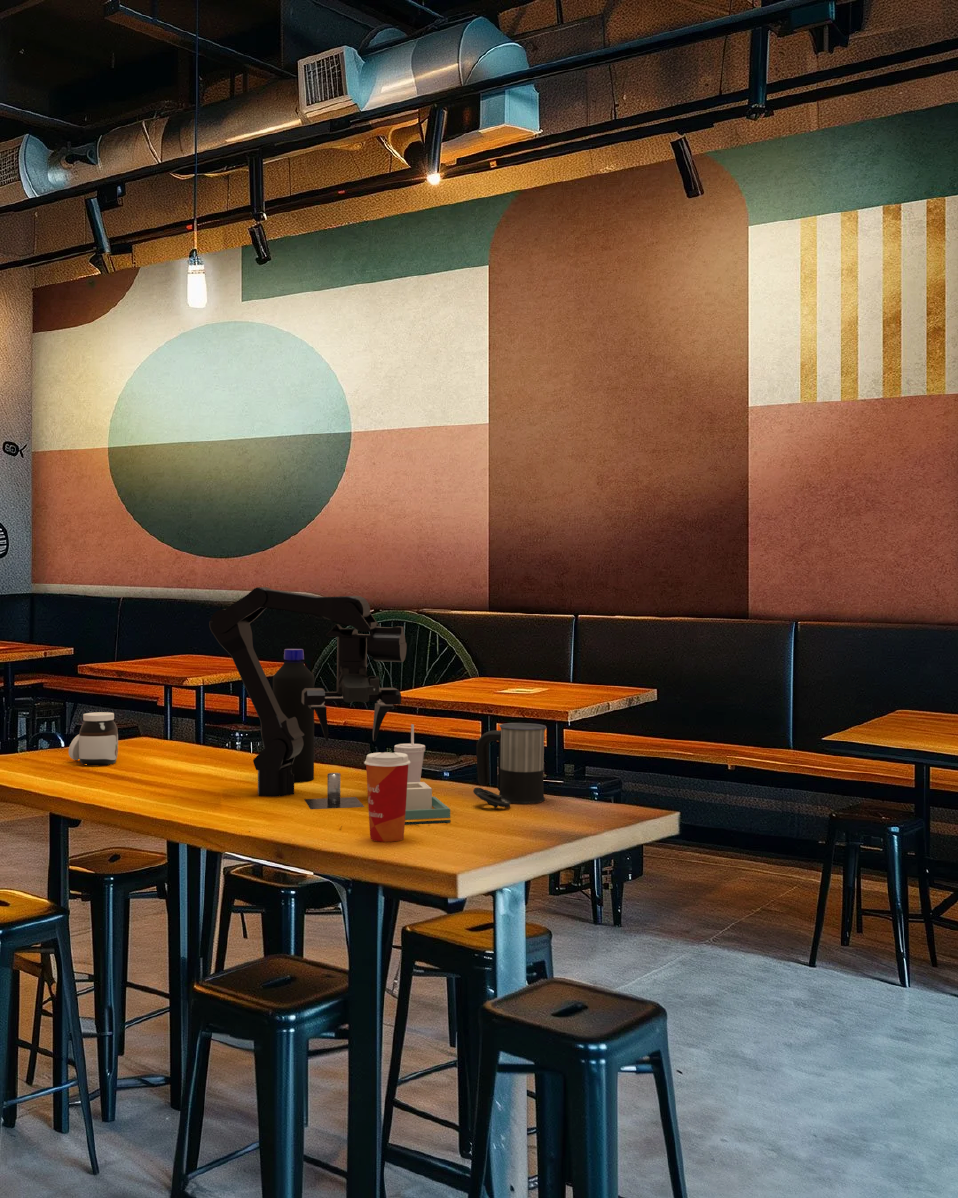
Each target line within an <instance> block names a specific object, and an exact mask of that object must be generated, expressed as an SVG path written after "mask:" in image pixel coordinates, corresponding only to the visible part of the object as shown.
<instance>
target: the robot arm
mask: <svg viewBox="0 0 958 1198" xmlns="http://www.w3.org/2000/svg"><path fill="white" fill-rule="evenodd" d="M266 609H271V610H279V611H286V612H292V613H293V612H294V613H299V614H305V615H306V614H307V615H313V616H318V617H321V618H324V619H326V620H328V621H331V622H333V623H334V622H335V623H337V624H335V625H334V626H333V627H332V629H330V630H329V631H328V632H327V633H326V637H328V638H329V637H330V638H331V637H332V638H337V641H336V642H337V644H336V647H337V648H336V649H337V650H336V653H337V654H336V691H325V688H322V687H314V688H305V689H304V690H303V691H302V703H303V704H304V705H308V707H309V708H310V709H311V710H314V713H315V715H316V717H317V718H318V721H319V724H320V727H321V730H322V733H323V737H324V739H325V742H329V724H328V717H327V706H326V705H325V703H326V702H345V703H352V702H361V703H368V702H376V703H374V711H373V723H372V741H373V742H375V741H376V740H377V737H378V735H379V732H380V728H381V726H382V723H383V721H384V718H385V717H386V715H387V714H388V712H389V710H394V709H395V705H402V694H401V692H400V690H399V689H397V688H395V687H380V676H379V675H369V676H368V675H367V667H368V666H367V665H368V662H367V661H368V658H367V655H368V656H369V657H370V658H371V657H372V659H373V661H375V662H389V663H390V662H394V663H396V662H397V663H403V662H404V661H405V660H406V656H407V650H408V649H407V647H408V646H407V642H406V635H405V633H404V631H405V630H404V626H392V627H389V626H387V627H386V626H380V625H379V623H378V622H377V620H376V619H375V618H374V616H373V615H372V613H371V607H370V603H368V600H367V599H366V598H365V597H363V596H360V595H342V596H322V595H321V596H320V595H314V594H307V593H302V592H301V593H300V592H293V591H285V590H279V589H274V588H273V589H272V588H270V587H265V586H264V587H254V588H253V589H252V590H250V592H248V593H247V594H246V595H245V596H243V597H242V598H240V599H238V600H236V601H235V602H233V603H232V604H230V605H229V606H228V607H227V608H223V609H219V610H216V611H215V612H214V613H212V615H211V617H210V620H209V622H208V623H209V629H210V632H211V634H212V635H213V637H214V638H215V639H216V641H217V642H218V644H219V645H220V646H221V647H222V648H223V649H224V650H225V651H226V652H227V653H228V654H229V655H230V657H231V659H232V661H233V663H234V665H235V667H236V671H237V672H238V674H239V676H240V678H241V681H242V683H243V685H244V687H245V690H246V692H247V694H248V696H249V698H250V701H251V703H252V705H253V708H254V709H255V712H256V715H257V716H258V718H259V721H260V733H261V740H262V745H263V748H264V749H263V750H262V751H260V752H259V754H257V755H256V756H254V757H255V758H253V760H252V762H253V765H254V768H255V770H256V771H257V794H258V797H270V798H271V797H272V798H276V797H285V796H291V795H295V783H294V775H293V773H291V767H290V766H289V765H292V764H293V761H294V759H295V756H297V755H298V754H299V753H300V752H301V750H302V748H303V745H304V744H303V738H302V736H304V733H303V732H302V731H301V730H300V728H299V725H298V721H297V719H296V717H293V718H290V719H288V718H287V717H286V716H285V715H284V714H283V712H282V711H281V709H280V706H279V704H278V702H277V700H276V698H275V695H274V693H273V688H272V687H271V684H270V682H269V679H268V677H267V676H266V673H265V671H264V668H263V667H262V664H261V662H260V660H259V658H258V656H257V654H256V652H255V649H254V644H253V643H254V642H253V631H252V626H251V623H252V622H254V621H255V620H256V619H257V618H259V616H260V615H261V614H262V613H263V612H264V611H265V610H266ZM341 625H342V626H346V627H353V628H343V627H342V626H341ZM359 632H363V633H364V632H366V633H367V632H368V633H369V634H368V633H367V634H366V633H364V634H363V633H359Z"/></svg>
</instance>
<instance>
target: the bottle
mask: <svg viewBox="0 0 958 1198" xmlns="http://www.w3.org/2000/svg"><path fill="white" fill-rule="evenodd" d="M283 653H284V654H283V660H285V661H283V663H282V666H280V668H279V669H278V670H277V671H276V672H275V674H274V675H273V677H272V691H273V693H274V695H275V698H276V700H277V702H278V704H279V706H280V709H281V711H282V712H283V714H284V715H285V716H286V717H287V718H288V719H290V718H293V717H296V719H297V721H298V725H299V728H300V730H301V731H302V732H303V733H304V736H302V738H303V744H304V745H303V748H302V750H301V752H300V753H299V754H298V755H297V756H295V759H294V761H293V764H292V765H289V766H290V767H291V773H293V775H294V784H295V783H297V784H298V783H306V782H310V781H313V780H314V779H315V710H311V709H310V708H309V707H308V705H304V704H303V703H302V691H303V690H304V689H305V688H315V675H314V674H313V673H312V671H310V669H308V667H307V666H306V665H305V662H304V661H303V660H305V654H304V649H303V648H285V649H284V651H283Z"/></svg>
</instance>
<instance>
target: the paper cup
mask: <svg viewBox="0 0 958 1198" xmlns="http://www.w3.org/2000/svg"><path fill="white" fill-rule="evenodd" d="M363 763H364V765H365V766H366V769H365V770H366V784H367V785H366V786H367V803H368V804H367V808H368V823H369V824H368V825H369V836H370V840H371V841H374V842H379V843H392V842H393V843H394V842H400V841H402V840H404V838H405V826H406V825H405V822H406V820H405V813H406V797H407V780H408V764H410V761H409V760H408V755H407V754H404V753H397V752H396V751H394V752H390V751H389V752H388V751H384V752H373V753H372V752H371V753H368V754H367V755H366V759H365V760H364V762H363Z"/></svg>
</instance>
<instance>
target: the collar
mask: <svg viewBox="0 0 958 1198" xmlns="http://www.w3.org/2000/svg"><path fill="white" fill-rule="evenodd" d="M432 797H433V788H432V787H430V785H428V784H427V783H426V782H425V781H420V782H409V783H407V797H406V810H421V809H433V806H432Z"/></svg>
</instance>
